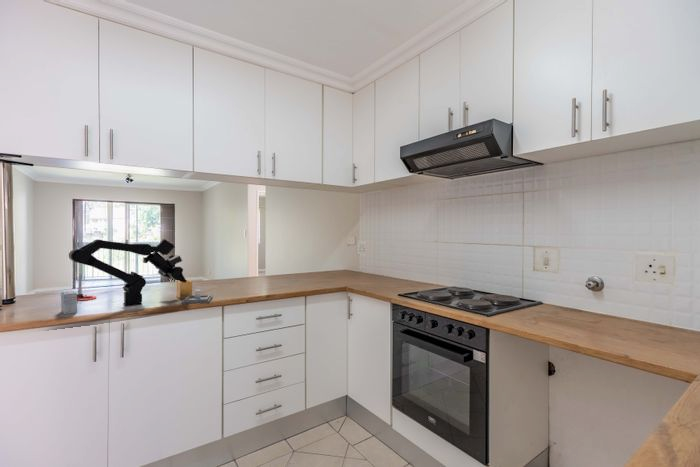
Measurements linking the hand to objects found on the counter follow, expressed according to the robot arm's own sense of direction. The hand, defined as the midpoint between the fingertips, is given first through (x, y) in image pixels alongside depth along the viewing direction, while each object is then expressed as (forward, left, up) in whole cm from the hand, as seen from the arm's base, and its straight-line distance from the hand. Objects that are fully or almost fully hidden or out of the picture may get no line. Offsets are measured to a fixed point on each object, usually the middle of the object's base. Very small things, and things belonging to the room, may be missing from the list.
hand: (182, 280), depth 172 cm
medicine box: (-46, 0, -9) cm, 47 cm away
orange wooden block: (+1, 0, -9) cm, 9 cm away
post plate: (+3, -14, -9) cm, 17 cm away
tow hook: (-38, +28, -9) cm, 48 cm away
